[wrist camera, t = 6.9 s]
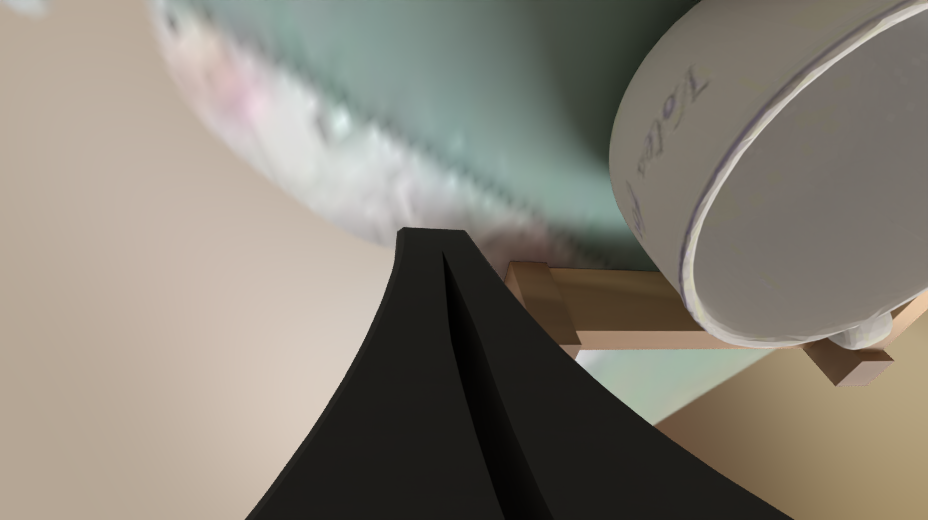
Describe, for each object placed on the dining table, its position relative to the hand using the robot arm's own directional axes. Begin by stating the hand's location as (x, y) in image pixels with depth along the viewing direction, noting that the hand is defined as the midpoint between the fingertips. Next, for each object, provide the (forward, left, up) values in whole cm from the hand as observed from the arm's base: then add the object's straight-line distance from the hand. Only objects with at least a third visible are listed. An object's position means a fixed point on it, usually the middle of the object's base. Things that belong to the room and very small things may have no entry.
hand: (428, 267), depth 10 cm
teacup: (0, -13, -9) cm, 16 cm away
